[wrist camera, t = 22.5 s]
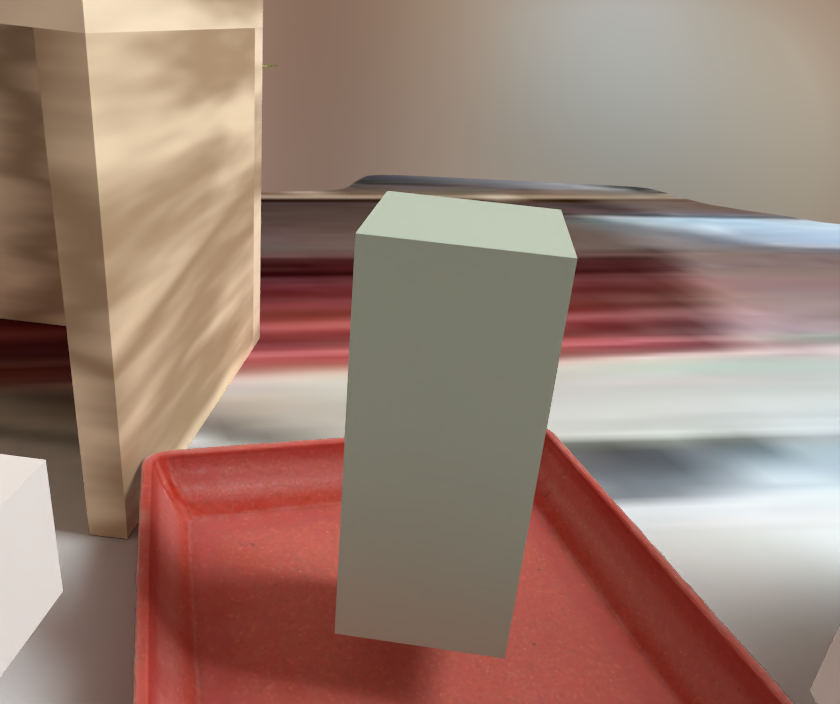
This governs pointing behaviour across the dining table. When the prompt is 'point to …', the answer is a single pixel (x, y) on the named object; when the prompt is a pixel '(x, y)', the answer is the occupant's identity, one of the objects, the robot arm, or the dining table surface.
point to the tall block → (447, 415)
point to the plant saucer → (389, 661)
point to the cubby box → (133, 215)
